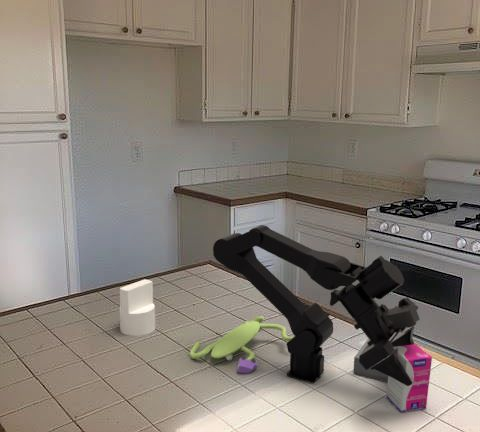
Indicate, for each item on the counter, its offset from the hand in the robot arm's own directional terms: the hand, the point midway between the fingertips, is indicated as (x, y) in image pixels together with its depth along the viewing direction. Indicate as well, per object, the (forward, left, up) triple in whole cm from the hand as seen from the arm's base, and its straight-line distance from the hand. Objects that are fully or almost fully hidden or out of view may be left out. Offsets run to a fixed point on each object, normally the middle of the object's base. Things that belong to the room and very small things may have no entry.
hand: (416, 375), depth 106 cm
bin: (-8, +12, -7) cm, 16 cm away
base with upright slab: (-70, +1, -7) cm, 71 cm away
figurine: (-40, +5, -7) cm, 41 cm away
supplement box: (-1, 0, -7) cm, 7 cm away
